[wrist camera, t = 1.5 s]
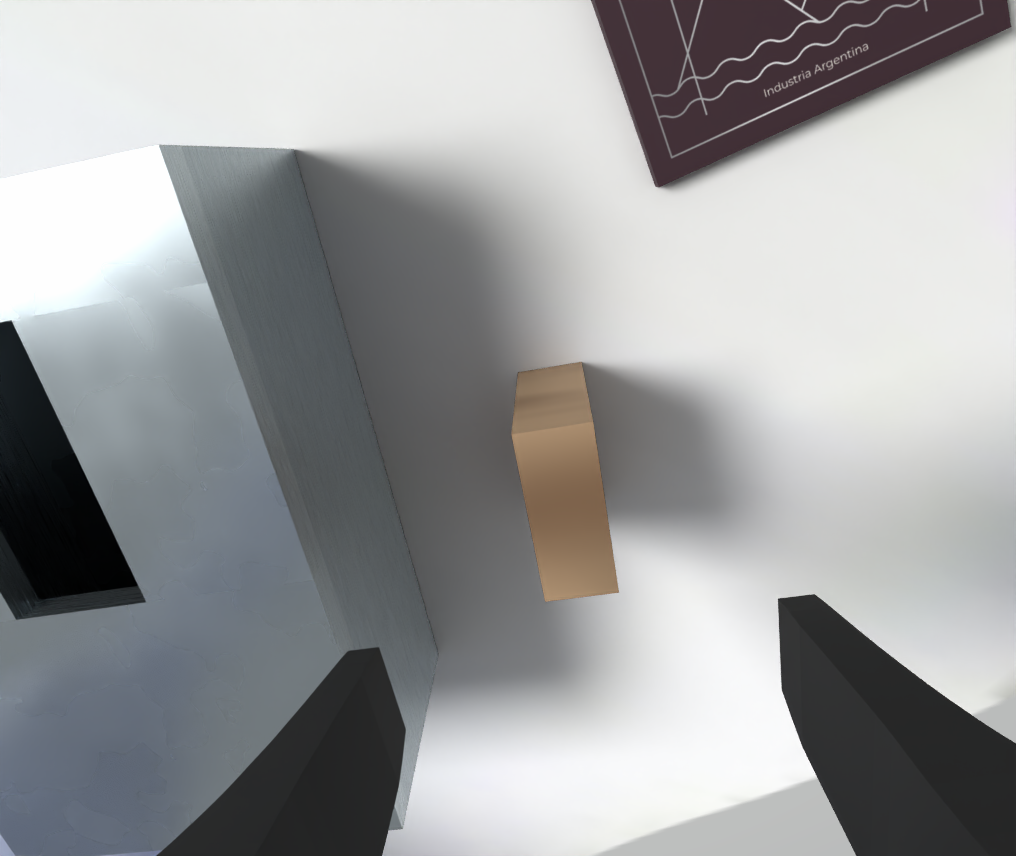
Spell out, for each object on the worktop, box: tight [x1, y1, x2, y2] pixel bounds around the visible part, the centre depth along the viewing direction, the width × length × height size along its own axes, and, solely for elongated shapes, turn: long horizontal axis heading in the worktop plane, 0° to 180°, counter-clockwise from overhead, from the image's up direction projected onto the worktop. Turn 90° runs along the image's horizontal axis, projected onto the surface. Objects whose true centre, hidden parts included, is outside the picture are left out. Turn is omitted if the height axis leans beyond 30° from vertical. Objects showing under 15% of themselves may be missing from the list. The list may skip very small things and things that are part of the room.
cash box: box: [0, 145, 438, 856], centre depth 19 cm, size 18×12×7 cm, turn 11°
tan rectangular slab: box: [511, 362, 619, 602], centre depth 19 cm, size 5×2×5 cm, turn 11°
